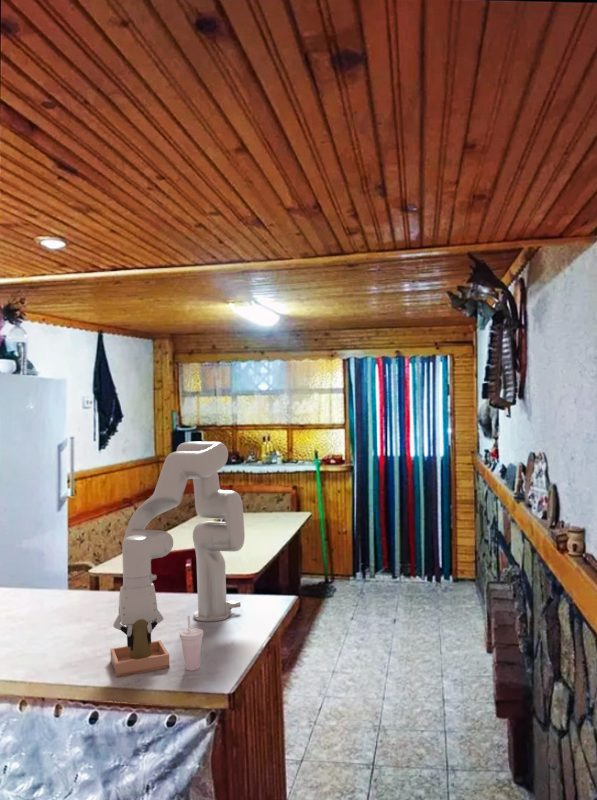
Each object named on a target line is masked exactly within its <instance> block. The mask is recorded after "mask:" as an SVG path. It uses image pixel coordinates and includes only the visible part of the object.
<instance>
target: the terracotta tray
mask: <svg viewBox="0 0 597 800" xmlns="http://www.w3.org/2000/svg"><path fill="white" fill-rule="evenodd" d="M150 648H151V656H149V657H147V658H141V659H131V658H130V657H129V652H130V647H128V646H127V645H123V646H118V647H112V648H110V663H111V665H112V668H113V671H114V674H115V677H116V678H120V677H121V678H122V677H125V676H132V675H136V674H137V675H138V674H142V673H147V672H152V671H158V670H162V669H163V670H164V669H169V668H170V654H169V652H168V650H167V649H166V647H165V645H164V643H163V642H162V639H159V640H154V641H152V640H151V643H150Z"/></svg>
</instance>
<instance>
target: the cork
mask: <svg viewBox="0 0 597 800" xmlns="http://www.w3.org/2000/svg"><path fill="white" fill-rule="evenodd" d="M147 626H148V622H146V620H144V619H139V620H137V621H136V622H135V623H134V624H133V625H132V636H133V638H134V641H133V650H132V651H131V647H130V652H129V657H130V658H131V659H141V658H147V657H149V656H151V648H150V643H149V644H148V640H147V633H148V631H147Z"/></svg>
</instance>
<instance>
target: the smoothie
mask: <svg viewBox="0 0 597 800" xmlns="http://www.w3.org/2000/svg"><path fill="white" fill-rule="evenodd" d="M203 636H204V630H203V629H202V628H198V627H197V628H196V627H191V616H190V615H187V628H186V629H183V630H182V629H181V631H180V632H179V638H180V641H181V642H180V643H181V646H182V647H181V648H182V654H183V661H184V668H185V670H186V671H196V670H199V668H200V664H201V653H202V641H203Z"/></svg>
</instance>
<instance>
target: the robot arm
mask: <svg viewBox="0 0 597 800" xmlns="http://www.w3.org/2000/svg"><path fill="white" fill-rule="evenodd" d="M228 458H229V450H228V447H227V446H226V445H225V444H224V443H223V442H221V441H187V442H182V443H180V444H179V445H178V446H177V447H176V451H173V452H170V453H169V454H168V455H167V456H166V458H165V460H164V462H163V466H162V468H161V471H160V475H159V477H158V480H157V483H156V486H155V489H154V491H153V494H152V495H151V496H150V497H149V498H147V499H146V500H145V501H144V502H143V503H142V504H141V505H140V506H139V507H138V508H137V509H136V510H135V511H134V512H133V514H132V515H131V517H130V519H129V521H128V524H127V526H126V528H125V529H126V530H125V533H124V535H123V540H122V543H121V544H122V545H121V551H122V552H121V553H122V556H121V557H122V579H123V581H122V582H123V583H122V584H123V585H122V586H120V590H119V594H118V615H117V616H116V619H115V621H114V623H113V624H112V626H113V628H115V629H116V630H119V631H121V632H122V633H123V634H125V635H126V642H127V643H126V644H127V645H126V646H128V647H131V651H132V650H133V641H134V638H133V636H132V625H133V624H134V623H135V622H136V621H137V620H139V619H144V620H146V622H148V626H147V631H148V633H147V640H148V644H149V643H151V642H152V633H153V630H154V629H155V628H156V627H157V625H159V624H160V623H161V622H162V621H163V620H165V619H164V616H163V615H162V614H161V612H160V611H159V609H158V603H157V595H156V593H157V592H156V590H155V589H156V588H155V585H154V584H155V583H153V581H156V580H157V578H158V577H157V574H153V573H152V563H151V562H152V560H154V559H158V558H163V557H166V556H167V555H169V554H170V553H171V552H172V550H173V547H174V539H173V536H172V535H171V533H169V532H167V531H165V530H155V529H154V530H153V529H146V527H147V526H148V524H149V523H150V522H151V521H152V520H154V518H156V517H157V516H159V515H161V514H163V513H165V512H169V511H170V510H172V509H175V508H177V507H178V506H179V505H180V504H181V503H182V500H183V496H184V492H185V490H186V486H187V483H188V481H189V480H192V483H193V492H194V493H193V495H194V507H195V512H196V514H197V516H198V517H199V518H204V519H213V521H208V520H207V521H202V522H199V523H197V524H196V525H195V526H194V528H193V531H192V542H193V546H194V551H195V557H196V559H195V560H196V581H197V582H196V585H197V610H195V611H194V612H193V619H195V620H197V621H199V622H208V623H209V622H218V621H223V620H226V619H228V618H230V617H231V616H232V609H234V608H235V609H236V608H241V601H240V600H238V601H235V600H230V601H228V600H227V583H226V581H227V580H226V561H225V558H224V556H223V554H222V552H229V553H230V552H232V553H233V552H234V553H236V552H238V551H240V550H242V548H243V546H244V544H245V535H246V534H245V521H244V519H245V518H244V507H243V500H242V498H241V495H240V494H239V493H238V492H237V491H235V490H230V489H225V490H224V489H221V486H220V479H219V477H220V476H219V474H218V473H219V472H218V471H220V470H221V469H223V467H224V466H225V465H226V464H227V462H228ZM217 519H218V520H224V521H214V520H217Z"/></svg>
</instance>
